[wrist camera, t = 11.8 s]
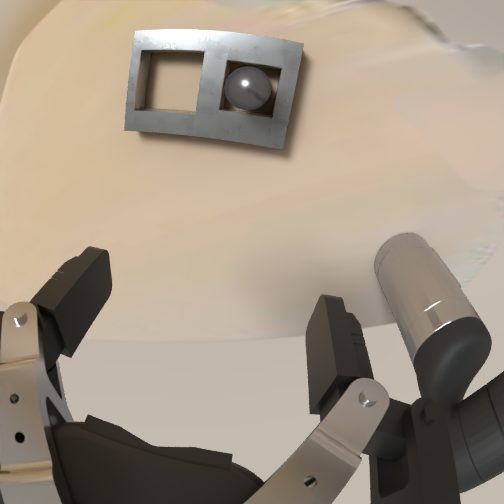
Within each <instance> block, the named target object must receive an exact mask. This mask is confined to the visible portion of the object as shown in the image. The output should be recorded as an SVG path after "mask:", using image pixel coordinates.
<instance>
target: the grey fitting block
mask: <svg viewBox="0 0 504 504" xmlns="http://www.w3.org/2000/svg"><path fill="white" fill-rule="evenodd" d="M303 47H304V44H303V43H299V42H294V41H289V40H284V39H278V38H272V37H266V36H259V35H252V34H244V33H235V32H224V31H209V30H143V31H136V32H135V38H134V44H133V51H132V57H131V65H130V72H129V81H128V90H127V101H126V114H125V130H124V131H142V132H156V133H168V134H178V135H188V136H197V137H205V138H213V139H220V140H227V141H234V142H240V143H247V144H253V145H258V146H264V147H270V148H275V149H280V150H283V147H284V142H285V137H286V132H287V127H288V122H289V117H290V112H291V107H292V102H293V97H294V92H295V87H296V82H297V77H298V72H299V67H300V62H301V57H302V52H303ZM151 52H185V53H204V54H205V55H204V61H203V67H202V73H201V80H200V86H199V93H198V100H197V107H196V112H192V111H181V110H168V109H150V108H145V99H146V90H147V81H148V73H149V66H150V59H151ZM231 62H232V63H241V64H248V65H255V66H262V67H268V68H274V69H279V70H281V73H280V78H279V83H278V88H277V93H276V99H275V104H274V109H273V114H272V116H270V115H265V114H259V113H253V112H247V111H240V110H233V109H225V108H223V106H224V100H225V90H224V87H225V82H226V79H227V78H228V76H229V70H230V64H231Z"/></svg>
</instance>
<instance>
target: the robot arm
mask: <svg viewBox="0 0 504 504" xmlns="http://www.w3.org/2000/svg"><path fill="white" fill-rule="evenodd" d="M374 268H375V273H376V275H377V277H378V280H379V282H380V284H381V286H382V289H383V291H384V294H385V296H386V298H387V300H388V303H389V305H390V308H391V310H392V312H393V315H394V317H395V320H396V322H397V325H398V327H399V330H400V332H401V335H402V337H403V340H404V342H405V345H406V347H407V350H408V352H409V355H410V358H411V361H412V363H413V366H414V369H415V372H416V375H417V381H418V386H419V390H420V394H421V397H422V398H419V399H417V400H416V401H415V402H414V403H413V404H412V405H410V404H406V403H403V402H400V401H397V400H394V399H391V398H389V395H388V392H387V391H386V389H385V388H384V387H383V386H382V385H381V384H380V383H379V382H377V381H375V380H374V377H373V372H372V368H371V364H370V360H369V356H368V352H367V348H366V346H365V340H364V337H363V333H362V329H361V325H360V323H359V322H358V320H357V319H356V317H355V316H354V315H353V313H347V312H346V310H345V306H344V302H343V299H342V298H341V297H335V296H329V295H323V294H322V295H321V296H320V297H319V300H318V302H317V304H316V307H315V309H314V312H313V314H312V316H311V319H310V321H309V324H308V326H307V331H306V354H307V369H308V385H309V406H310V407H309V408H310V414H319V415H320V423H319V425H318V426H317V427H316V428H315V429H314V430H313V432H312V433H311V434H310V435H309V436H308V437H307V439H306V440H305V441H304V442H303V443H302V444H301V445H300V446H299V447H298V449H297V450H296V451H295V452H294V453H293V454H292V455H291V456H290V457H289V458H288V459H287V460H286V462H284V464H283V465H281V467H279V469H278V470H276V471H275V472H274V473H273V474H272V475H271V476H270V477H269V478H268V479H267V480H266V481H265V482H263V481H262V480H261V479H260V478H259V477H257V476H256V475H255V474H254V473H253V472H251V471H249V470H248V469H246V468H244V467H242V466H240V465H238V464H236V463H233V462H232V454H229V453H223V452H217V451H211V450H206V449H201V448H196V447H157V446H152V445H150V444H148V443H147V442H145V441H143V440H141V439H140V438H138V437H136V436H135V435H133V434H131V433H130V432H128V431H126V430H125V429H123V428H122V427H120V426H117V425H114V424H112V423H109V422H106V421H103V420H101V419H98V418H95V417H93V416H91V415H88V416H87V418H86V420H85V422H74V421H73V418H72V416H71V413H70V411H69V409H68V406H67V402H66V398H65V393H64V389H63V384H62V379H61V373H60V367H59V362H58V360H57V359H58V357H59V356H60V354H63V355H65V356H67V357H70V358H71V357H72V356H73V354H74V352H75V351H76V349H77V347H78V346H79V344H80V342H81V341H82V339H83V337H84V336H85V334H86V332H87V331H88V329H89V328H90V326H91V324H92V323H93V321H94V320H95V318H96V317H97V315H98V314H99V312H100V310H101V309H102V307H103V306H104V304H105V303H106V301H107V300H108V298H109V296H110V294H111V290H112V277H111V269H110V259H109V253H108V251H107V250H104V249H99V248H95V247H91V246H90V247H88V248H86V249H85V250H84V251H83V253H82V254H81V255H80V256H79V257H77V256H76V257H74V258H72V259H70V260H68V261H67V262H65V263H64V264H63V265H62V266H61V267H60V268H59V269H58V272H56V273H55V274H54V275H53V276H52V278H51V279H49V280H48V281H47V282H46V284H45V285H44V286H43V287H42V288H41V289H40V290H39V292H38V293H37V294H36V295H35V296H34V297H33V298H32V300H31V301H30V302H18V303H15V304H13V305H11V306H10V307H9V308H8V309H7V310H6V311H5V312H3V311H0V504H332V502H333V501H334V500H335V498H336V497H337V496H338V495H339V493H340V492H341V490H342V489H343V488H344V486H345V485H346V484H347V482H348V481H349V480H350V478H351V477H352V475H353V474H354V472H355V471H356V469H357V468H358V466H359V464H360V462H361V460H362V458H361V457H360V454H361V453H363V454H367V455H369V464H370V490H371V504H461V502H460V493H463V492H466V491H468V490H470V489H472V488H475V487H477V486H479V485H480V484H482V483H485V482H486V481H488V480H490V479H492V478H494V477H496V476H497V475H499V474H501V473H502V472H504V371H503V372H502V373H501V374H499V375H498V376H497V377H495V378H494V379H493V380H491V381H490V382H489V383H487V385H484V386H483V387H482V388H480V389H479V390H477V391H476V392H474V393H473V394H472V395H470V396H469V397H467V398H466V399H464V400H463V397H464V395H465V392H466V390H467V388H468V387H469V385H470V383H471V381H472V380H473V378H474V377H475V375H476V374H477V373H478V371H479V370H480V369H481V367H482V366H483V364H484V363H485V361H486V359H487V357H488V356H489V353H490V350H491V345H492V342H491V336H490V334H489V332H488V330H487V328H486V327H485V325H484V323H483V322H482V321H481V319H480V317H479V316H478V314H477V312H476V311H475V309H474V308H473V306H472V305H471V303H470V302H469V300H468V299H467V297H466V296H465V294H464V293H463V291H462V290H461V285H460V284H459V282H458V281H457V279H456V278H455V277H454V275H453V274H452V273H451V271H450V270H449V268H448V267H447V266H446V264H445V263H444V262H443V261H442V259H441V258H440V257H439V255H438V254H437V253H436V251H435V250H434V249H433V248H431V247H430V246H429V245H428V244H427V242H426V241H425V240H424V239H423V238H422V237H420V236H419V235H417V234H413V233H405V234H400V235H398V236H395V237H393V238H392V239H390V240H389V241H387V242H386V243H385V244H384V245H383V246H382V248H381V249H380V250H379V252H378V254H377V256H376V259H375V265H374Z"/></svg>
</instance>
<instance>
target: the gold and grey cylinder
mask: <svg viewBox="0 0 504 504" xmlns="http://www.w3.org/2000/svg"><path fill="white" fill-rule="evenodd" d="M224 90H225V95H226V97H227V99H228V101H229V102H230V103H231V104H232V105H234V106H235V107H237V108H239V109H243V110H253V109H256V108H259V107H260V106H262V105H263V104H264V103H266V101H267V100H268V98H269V96H270V94H271V83H270V80H269V78H268V76H267V75H266V74H265V73H264V72H263V71H261V70H260V69H258V68H255V67H241V68H238V69H236V70H235V71H233V72H232V73H231V74H230V75H229V76H228V78H227V79H226V82H225V87H224Z"/></svg>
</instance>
